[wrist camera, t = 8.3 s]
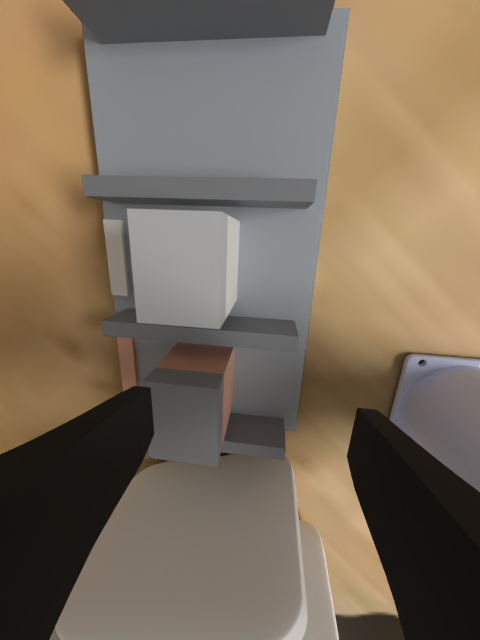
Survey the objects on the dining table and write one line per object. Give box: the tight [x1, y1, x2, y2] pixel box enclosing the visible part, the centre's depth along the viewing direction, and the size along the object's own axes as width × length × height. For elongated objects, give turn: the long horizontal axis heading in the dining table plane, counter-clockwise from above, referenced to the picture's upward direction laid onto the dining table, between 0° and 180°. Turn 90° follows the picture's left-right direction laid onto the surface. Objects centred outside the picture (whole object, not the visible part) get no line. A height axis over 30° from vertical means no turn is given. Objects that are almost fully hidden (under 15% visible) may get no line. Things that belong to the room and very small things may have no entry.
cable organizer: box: [55, 454, 339, 640], centre depth 19 cm, size 15×11×12 cm
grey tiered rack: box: [63, 0, 350, 460], centre depth 16 cm, size 14×25×4 cm, turn 178°
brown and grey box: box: [142, 342, 235, 467], centre depth 16 cm, size 4×5×6 cm
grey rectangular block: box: [127, 209, 240, 329], centre depth 14 cm, size 4×5×6 cm
